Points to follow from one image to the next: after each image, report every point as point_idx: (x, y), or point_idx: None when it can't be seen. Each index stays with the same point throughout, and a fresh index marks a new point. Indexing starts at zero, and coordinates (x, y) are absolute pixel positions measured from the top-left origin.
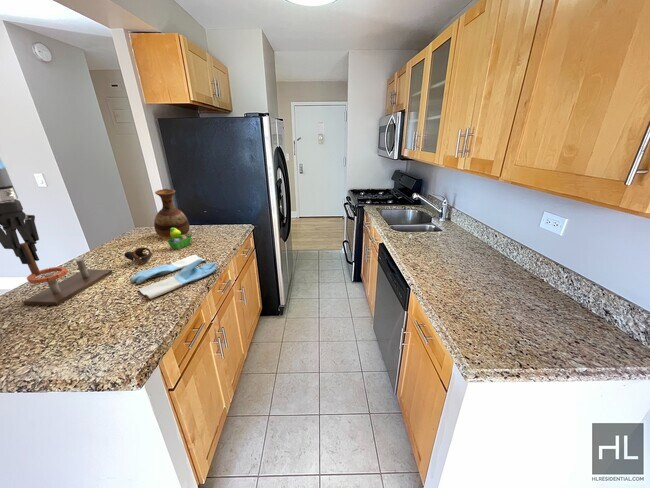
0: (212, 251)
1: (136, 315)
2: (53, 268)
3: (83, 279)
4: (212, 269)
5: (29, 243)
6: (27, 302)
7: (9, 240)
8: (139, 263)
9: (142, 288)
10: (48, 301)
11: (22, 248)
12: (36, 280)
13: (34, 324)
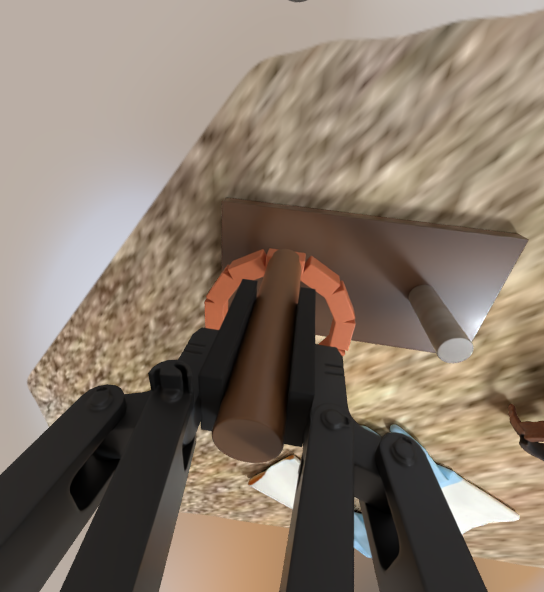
0: (535, 538)
1: (197, 470)
2: (333, 316)
3: (387, 305)
4: (365, 553)
5: (304, 442)
6: (223, 216)
7: (60, 552)
8: (509, 410)
9: (295, 464)
10: None
11: (205, 427)
12: (209, 326)
13: (138, 321)
